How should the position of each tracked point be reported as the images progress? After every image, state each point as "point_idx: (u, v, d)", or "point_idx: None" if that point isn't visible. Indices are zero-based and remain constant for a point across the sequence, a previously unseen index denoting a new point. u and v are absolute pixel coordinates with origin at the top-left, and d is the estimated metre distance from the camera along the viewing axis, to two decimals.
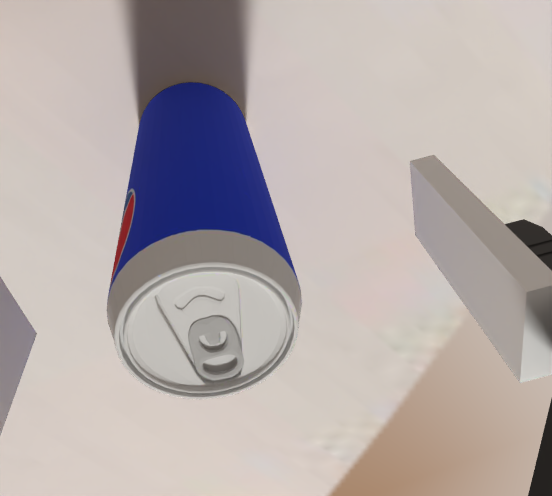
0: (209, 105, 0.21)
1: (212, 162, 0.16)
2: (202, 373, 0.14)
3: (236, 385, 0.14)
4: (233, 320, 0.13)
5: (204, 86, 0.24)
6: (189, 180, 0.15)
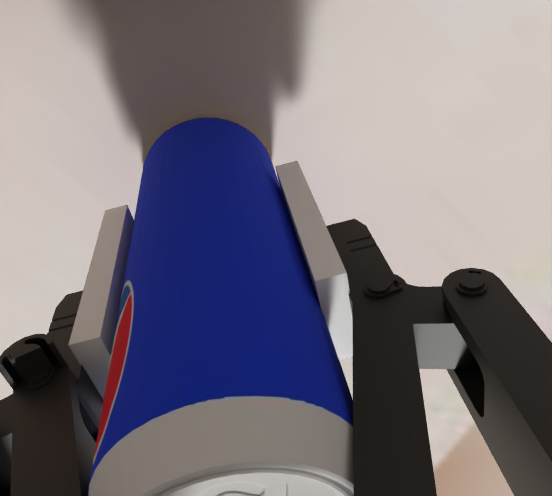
0: (230, 152, 0.17)
1: (240, 252, 0.12)
2: None
3: None
4: None
5: (223, 123, 0.19)
6: (209, 288, 0.11)
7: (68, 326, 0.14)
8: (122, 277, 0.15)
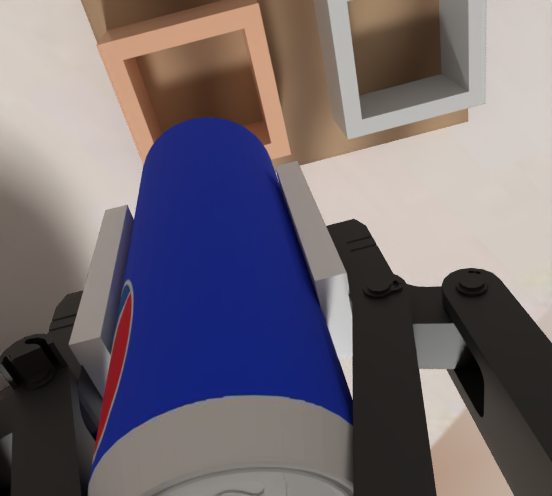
0: (231, 152, 0.17)
1: (240, 251, 0.12)
2: None
3: None
4: None
5: (223, 123, 0.19)
6: (209, 288, 0.11)
7: (68, 326, 0.14)
8: (122, 277, 0.15)
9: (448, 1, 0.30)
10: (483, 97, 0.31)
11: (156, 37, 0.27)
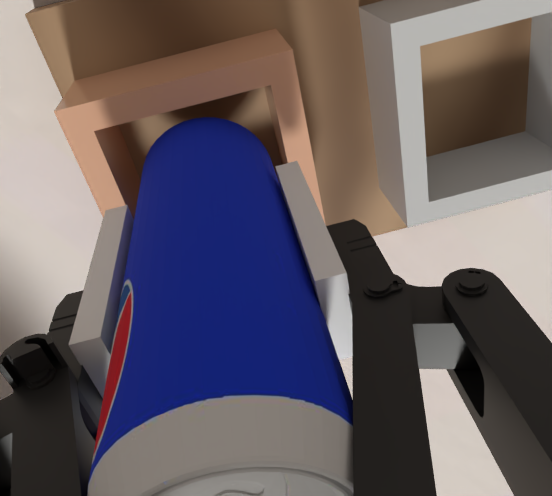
0: (230, 152, 0.17)
1: (239, 252, 0.12)
2: None
3: None
4: None
5: (223, 122, 0.19)
6: (209, 288, 0.11)
7: (68, 326, 0.14)
8: (122, 277, 0.15)
9: (549, 40, 0.22)
10: None
11: (142, 99, 0.18)
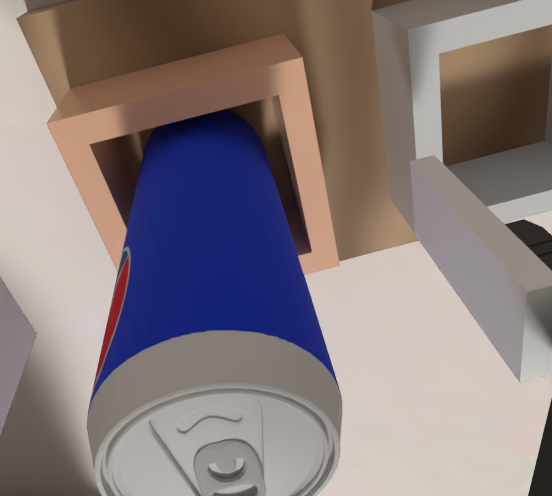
0: (224, 136, 0.18)
1: (227, 218, 0.13)
2: None
3: None
4: (253, 443, 0.10)
5: None
6: (198, 247, 0.12)
7: None
8: None
9: None
10: None
11: (141, 110, 0.17)
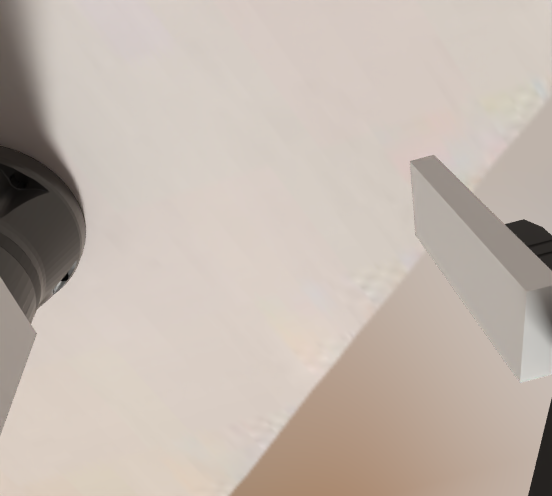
0: None
1: None
2: None
3: None
4: None
5: None
6: None
7: None
8: None
9: None
10: None
11: None
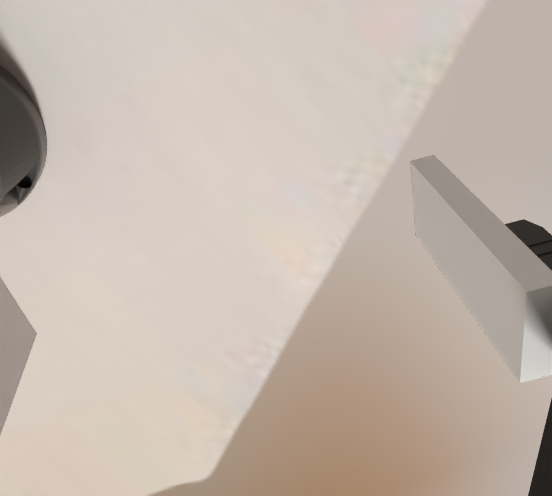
0: None
1: None
2: None
3: None
4: None
5: None
6: None
7: None
8: None
9: None
10: None
11: None
